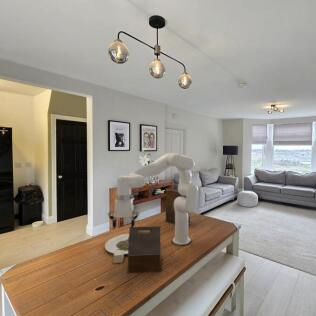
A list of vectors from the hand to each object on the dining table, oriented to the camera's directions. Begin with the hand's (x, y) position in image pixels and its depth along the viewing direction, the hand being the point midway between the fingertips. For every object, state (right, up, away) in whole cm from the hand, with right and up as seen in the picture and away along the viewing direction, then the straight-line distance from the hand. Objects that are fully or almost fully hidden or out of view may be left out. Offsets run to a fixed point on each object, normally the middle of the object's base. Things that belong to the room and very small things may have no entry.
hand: (123, 227), depth 111 cm
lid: (+13, -5, -6) cm, 15 cm away
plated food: (-4, -20, +21) cm, 29 cm away
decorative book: (+26, -19, +64) cm, 71 cm away
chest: (+13, -21, -1) cm, 24 cm away
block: (-4, -20, +2) cm, 21 cm away
